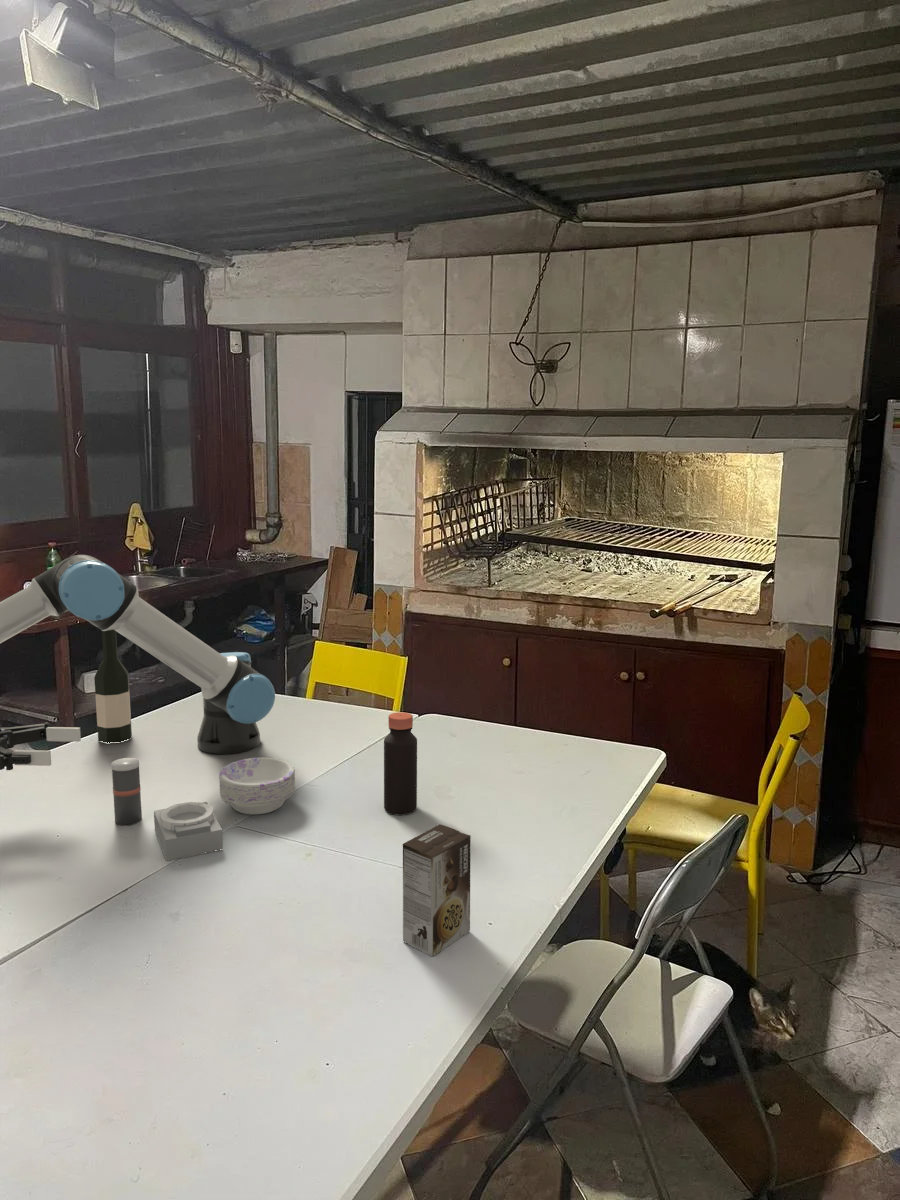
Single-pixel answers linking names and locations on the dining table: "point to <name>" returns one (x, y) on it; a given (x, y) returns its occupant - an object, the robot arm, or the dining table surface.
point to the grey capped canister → (126, 791)
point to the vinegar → (400, 765)
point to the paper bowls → (257, 784)
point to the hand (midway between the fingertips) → (65, 745)
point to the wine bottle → (112, 694)
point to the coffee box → (436, 889)
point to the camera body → (187, 830)
